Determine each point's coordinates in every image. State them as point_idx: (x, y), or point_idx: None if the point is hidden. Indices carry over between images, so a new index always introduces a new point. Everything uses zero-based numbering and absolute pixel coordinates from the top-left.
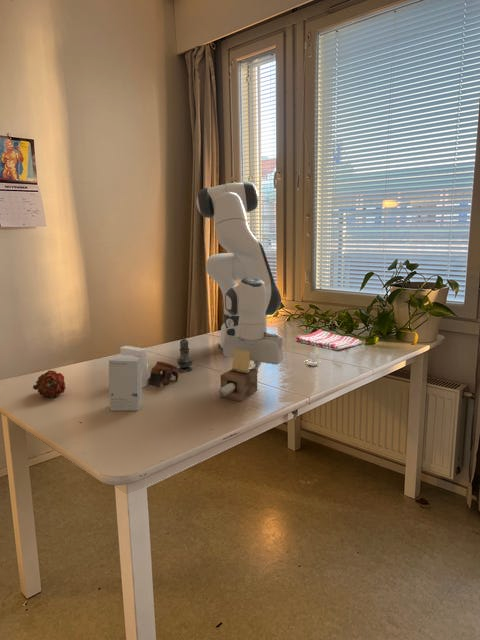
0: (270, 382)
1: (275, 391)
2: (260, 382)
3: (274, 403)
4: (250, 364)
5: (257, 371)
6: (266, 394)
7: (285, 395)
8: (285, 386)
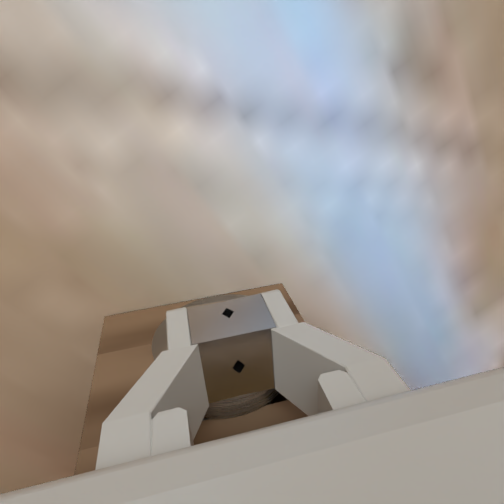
0: (264, 23)
1: (398, 203)
2: (179, 91)
3: (455, 352)
4: (180, 374)
5: (283, 303)
6: (365, 287)
7: (482, 222)
8: (434, 44)
